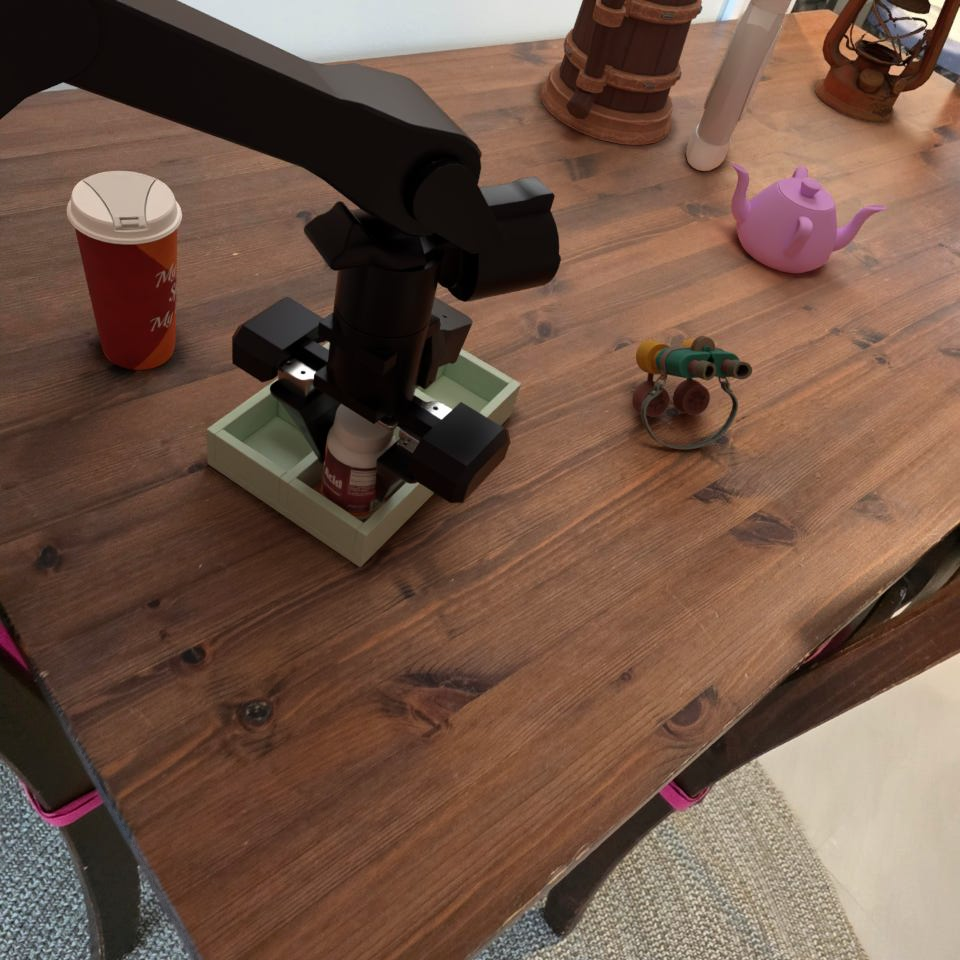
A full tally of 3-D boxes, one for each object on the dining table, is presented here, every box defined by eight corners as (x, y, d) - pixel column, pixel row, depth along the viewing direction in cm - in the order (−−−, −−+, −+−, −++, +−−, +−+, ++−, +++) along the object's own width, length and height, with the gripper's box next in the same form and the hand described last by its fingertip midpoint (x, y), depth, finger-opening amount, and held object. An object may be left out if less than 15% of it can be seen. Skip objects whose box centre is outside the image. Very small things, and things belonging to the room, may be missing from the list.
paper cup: (196, 373, 72) (190, 225, 62) (94, 384, 69) (69, 229, 59) (179, 312, 76) (171, 164, 66) (82, 319, 73) (58, 165, 63)
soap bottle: (731, 190, 112) (825, -13, 94) (674, 167, 113) (757, -39, 95) (749, 150, 121) (838, -43, 103) (696, 129, 122) (776, -66, 104)
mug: (501, 113, 113) (541, -58, 98) (573, 63, 128) (617, -93, 113) (630, 173, 110) (691, 5, 95) (688, 114, 125) (749, -39, 110)
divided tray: (207, 463, 66) (206, 428, 63) (377, 335, 80) (383, 301, 77) (360, 568, 63) (366, 535, 60) (511, 415, 76) (521, 383, 74)
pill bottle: (313, 477, 66) (321, 395, 59) (374, 469, 67) (389, 388, 61) (329, 527, 63) (339, 447, 57) (393, 517, 65) (410, 438, 59)
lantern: (799, 97, 137) (907, -126, 115) (806, 69, 146) (909, -144, 124) (904, 136, 136) (1034, -82, 114) (905, 105, 144) (1026, -103, 122)
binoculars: (705, 434, 83) (717, 327, 80) (765, 460, 75) (780, 342, 72) (616, 439, 80) (625, 328, 78) (668, 466, 72) (680, 343, 69)
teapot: (848, 271, 105) (889, 206, 98) (765, 288, 99) (803, 220, 92) (783, 214, 111) (818, 149, 104) (701, 227, 105) (732, 158, 98)
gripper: (579, 322, 55) (519, 484, 67) (343, 189, 60) (325, 363, 71) (486, 412, 48) (437, 577, 59) (225, 254, 52) (226, 436, 64)
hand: (355, 479), depth 64 cm, fingers closed on pill bottle, 5 cm apart
